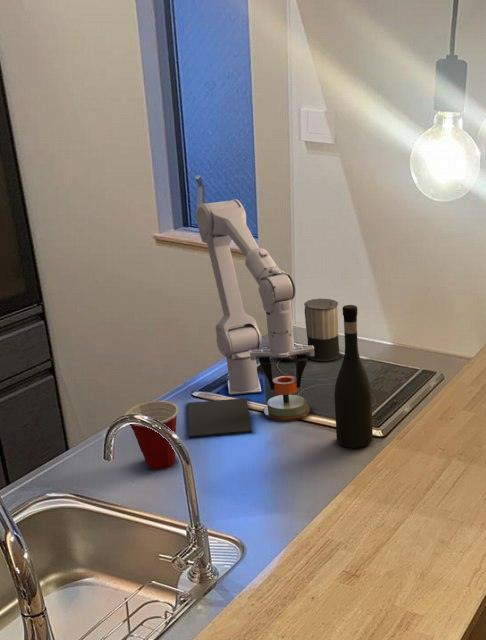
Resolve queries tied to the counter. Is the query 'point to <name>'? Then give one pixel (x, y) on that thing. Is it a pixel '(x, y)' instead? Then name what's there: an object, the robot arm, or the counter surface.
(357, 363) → the wine bottle
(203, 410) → the mat
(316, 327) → the milk frother
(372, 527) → the counter surface
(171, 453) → the plastic cup
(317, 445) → the counter surface
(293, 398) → the ring stand
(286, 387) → the ring
